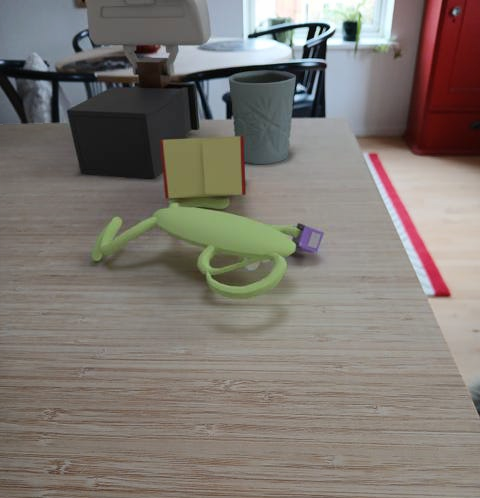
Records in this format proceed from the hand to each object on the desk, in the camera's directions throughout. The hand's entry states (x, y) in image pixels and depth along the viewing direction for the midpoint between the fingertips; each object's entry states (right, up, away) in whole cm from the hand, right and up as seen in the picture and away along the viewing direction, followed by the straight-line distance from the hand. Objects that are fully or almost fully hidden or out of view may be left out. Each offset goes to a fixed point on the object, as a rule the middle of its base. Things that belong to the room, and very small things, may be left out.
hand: (154, 74), depth 87 cm
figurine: (+11, -35, -29) cm, 47 cm away
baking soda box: (+10, -19, -13) cm, 25 cm away
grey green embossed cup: (+18, -14, -2) cm, 23 cm away
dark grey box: (-3, -15, -2) cm, 15 cm away
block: (0, -1, +1) cm, 2 cm away
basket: (0, -8, +6) cm, 10 cm away
